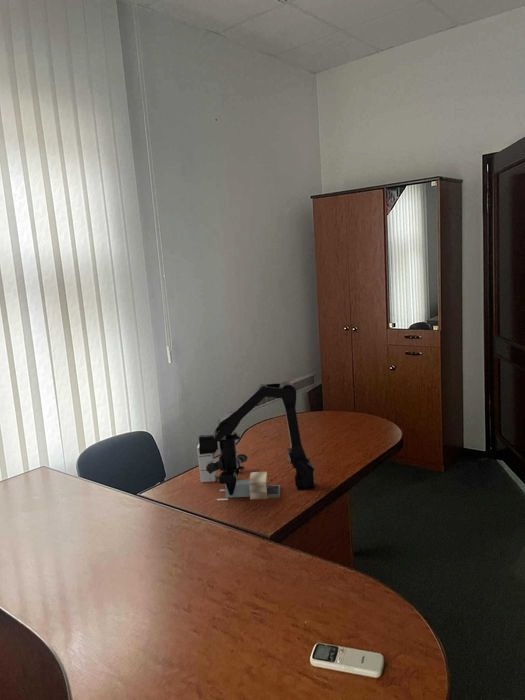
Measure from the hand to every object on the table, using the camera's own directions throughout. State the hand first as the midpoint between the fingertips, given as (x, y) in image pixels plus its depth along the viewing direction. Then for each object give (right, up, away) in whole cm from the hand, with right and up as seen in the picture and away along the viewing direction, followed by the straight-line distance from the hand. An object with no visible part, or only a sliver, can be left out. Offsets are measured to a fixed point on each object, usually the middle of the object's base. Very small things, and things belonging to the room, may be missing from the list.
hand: (231, 492), depth 201 cm
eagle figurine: (+1, +2, +23) cm, 24 cm away
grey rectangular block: (+5, -1, 0) cm, 5 cm away
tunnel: (+10, 0, 0) cm, 10 cm away
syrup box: (-10, +1, +17) cm, 19 cm away
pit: (+15, 0, -1) cm, 15 cm away
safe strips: (-3, -1, 0) cm, 3 cm away
